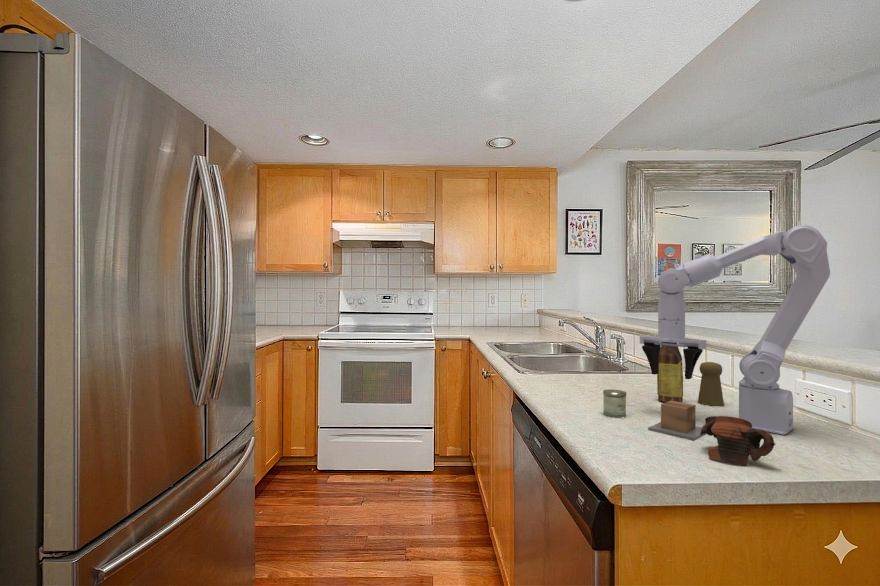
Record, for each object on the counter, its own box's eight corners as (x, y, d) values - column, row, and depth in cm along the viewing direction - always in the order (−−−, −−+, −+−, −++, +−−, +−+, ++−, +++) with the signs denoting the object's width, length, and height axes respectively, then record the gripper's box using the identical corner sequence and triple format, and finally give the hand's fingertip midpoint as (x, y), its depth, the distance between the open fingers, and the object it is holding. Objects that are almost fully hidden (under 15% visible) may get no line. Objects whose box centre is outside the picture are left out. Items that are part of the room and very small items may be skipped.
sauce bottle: (688, 404, 115) (688, 329, 115) (664, 404, 116) (664, 329, 116) (675, 398, 122) (675, 327, 122) (652, 398, 122) (652, 327, 122)
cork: (716, 401, 119) (716, 360, 119) (729, 407, 113) (729, 364, 113) (693, 400, 120) (693, 360, 120) (704, 406, 114) (704, 364, 114)
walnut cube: (670, 423, 97) (670, 400, 97) (695, 428, 93) (695, 405, 93) (660, 427, 94) (660, 404, 94) (685, 433, 90) (685, 409, 90)
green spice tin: (630, 415, 105) (630, 392, 105) (619, 419, 102) (619, 395, 102) (609, 410, 109) (609, 388, 109) (598, 414, 106) (598, 391, 106)
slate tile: (710, 431, 93) (710, 429, 93) (693, 440, 87) (693, 438, 87) (666, 421, 100) (666, 419, 100) (648, 429, 94) (648, 427, 94)
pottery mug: (689, 458, 79) (689, 413, 83) (718, 473, 83) (716, 429, 87) (765, 461, 70) (761, 411, 73) (793, 478, 73) (788, 429, 77)
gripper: (633, 318, 108) (633, 373, 108) (698, 321, 97) (698, 383, 97) (646, 317, 113) (646, 370, 113) (709, 320, 102) (709, 379, 102)
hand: (671, 376), depth 105 cm, fingers open, 7 cm apart
